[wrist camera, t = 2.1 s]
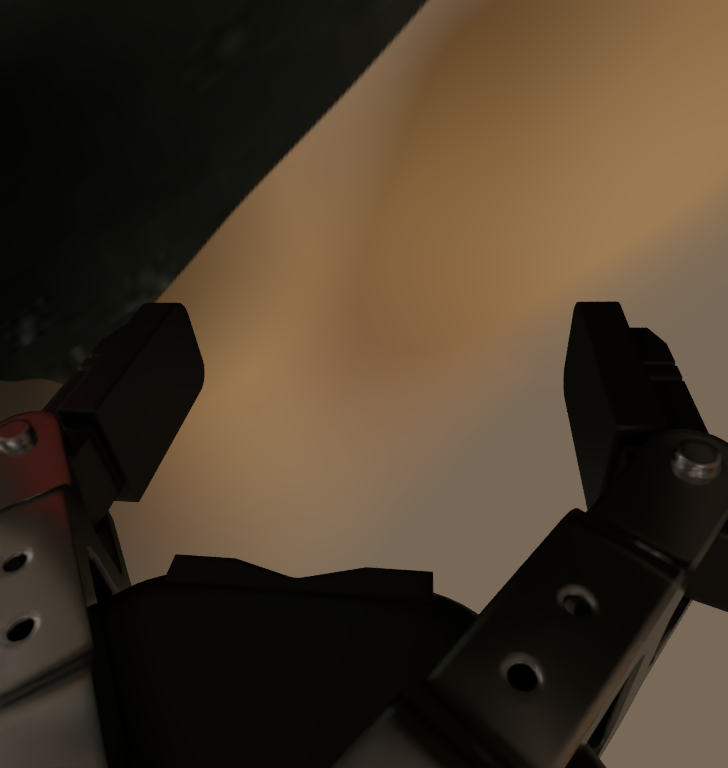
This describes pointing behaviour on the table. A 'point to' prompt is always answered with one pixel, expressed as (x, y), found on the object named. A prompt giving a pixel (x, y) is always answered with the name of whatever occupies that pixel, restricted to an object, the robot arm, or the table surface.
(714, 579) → the robot arm
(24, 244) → the table surface
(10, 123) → the table surface
